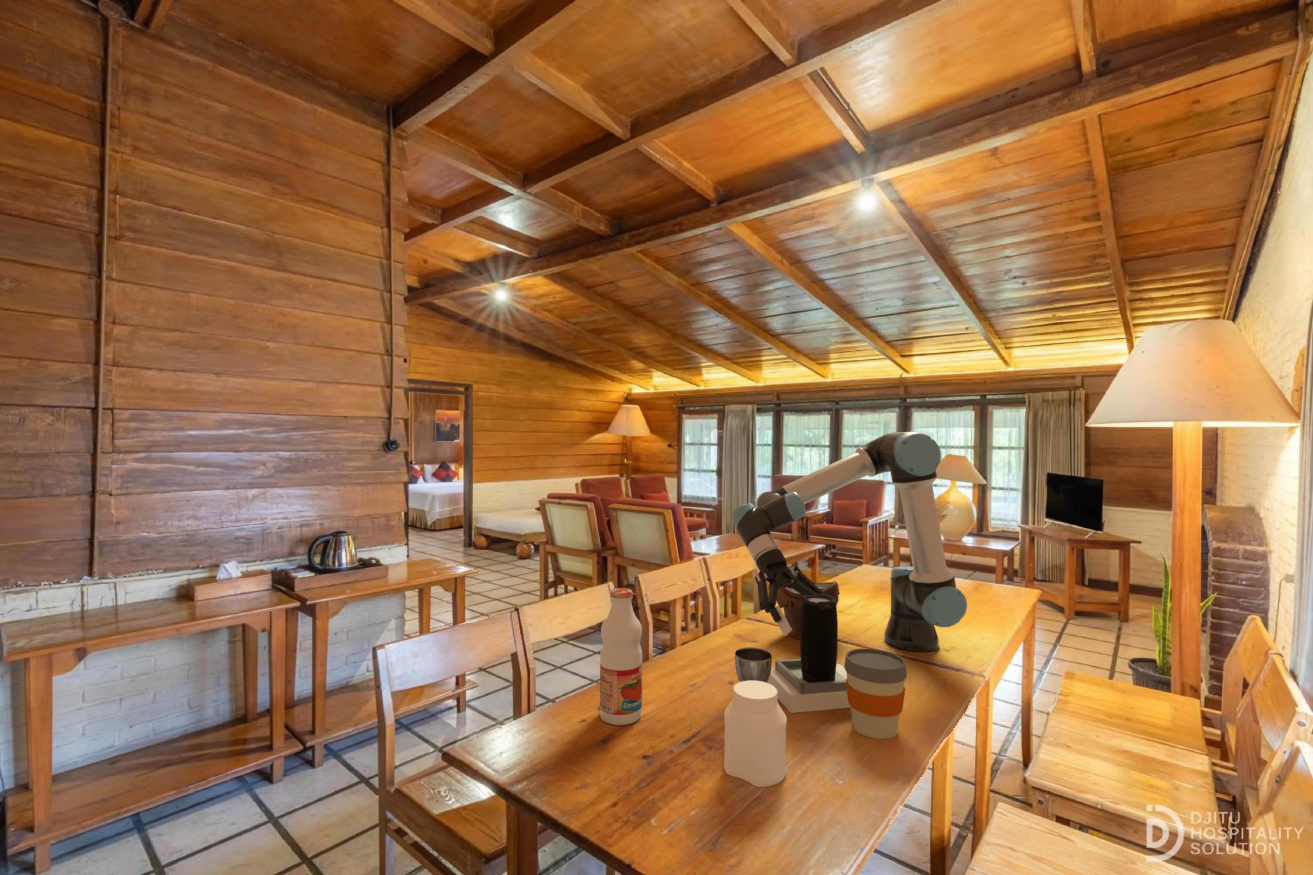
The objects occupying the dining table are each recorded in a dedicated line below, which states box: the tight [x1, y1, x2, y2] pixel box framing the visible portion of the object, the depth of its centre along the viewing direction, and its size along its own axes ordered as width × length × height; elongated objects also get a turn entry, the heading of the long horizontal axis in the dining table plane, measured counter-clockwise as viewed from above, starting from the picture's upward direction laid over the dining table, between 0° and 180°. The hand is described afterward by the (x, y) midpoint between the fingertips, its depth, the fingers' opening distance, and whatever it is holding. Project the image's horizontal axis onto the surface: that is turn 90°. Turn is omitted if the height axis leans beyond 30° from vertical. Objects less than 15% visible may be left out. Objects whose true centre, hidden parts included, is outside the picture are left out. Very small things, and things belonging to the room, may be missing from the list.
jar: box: [723, 680, 788, 788], centre depth 109 cm, size 12×10×15 cm
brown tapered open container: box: [776, 580, 841, 640], centre depth 184 cm, size 18×20×18 cm
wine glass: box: [734, 646, 773, 683], centre depth 127 cm, size 8×8×15 cm
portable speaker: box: [799, 594, 839, 683], centre depth 140 cm, size 9×9×20 cm
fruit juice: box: [599, 587, 643, 726], centre depth 130 cm, size 9×9×28 cm
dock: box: [767, 658, 851, 714], centre depth 141 cm, size 25×15×6 cm, turn 101°
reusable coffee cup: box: [843, 648, 908, 740], centre depth 125 cm, size 13×13×15 cm
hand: (808, 628), depth 142 cm, fingers open, 13 cm apart
